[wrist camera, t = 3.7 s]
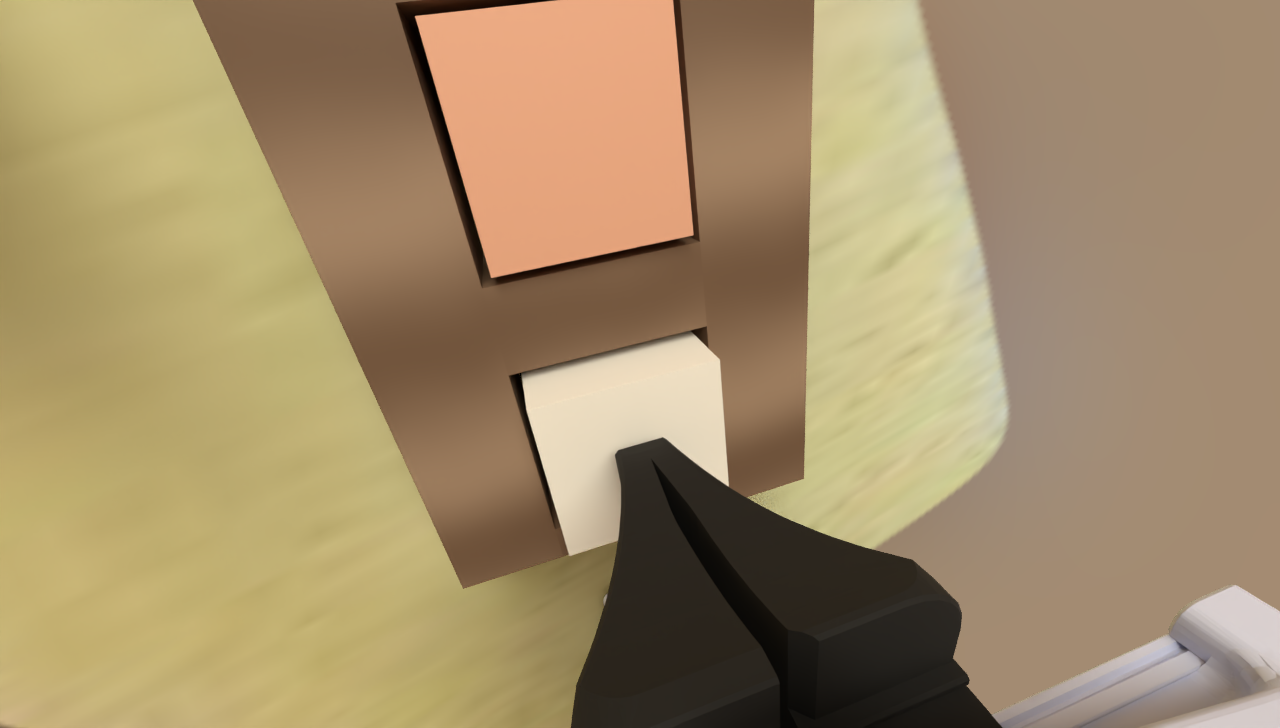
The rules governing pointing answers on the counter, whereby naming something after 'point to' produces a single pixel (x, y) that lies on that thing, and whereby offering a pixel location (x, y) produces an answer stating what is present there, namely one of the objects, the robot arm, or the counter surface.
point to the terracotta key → (564, 126)
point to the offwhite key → (621, 424)
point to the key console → (543, 297)
